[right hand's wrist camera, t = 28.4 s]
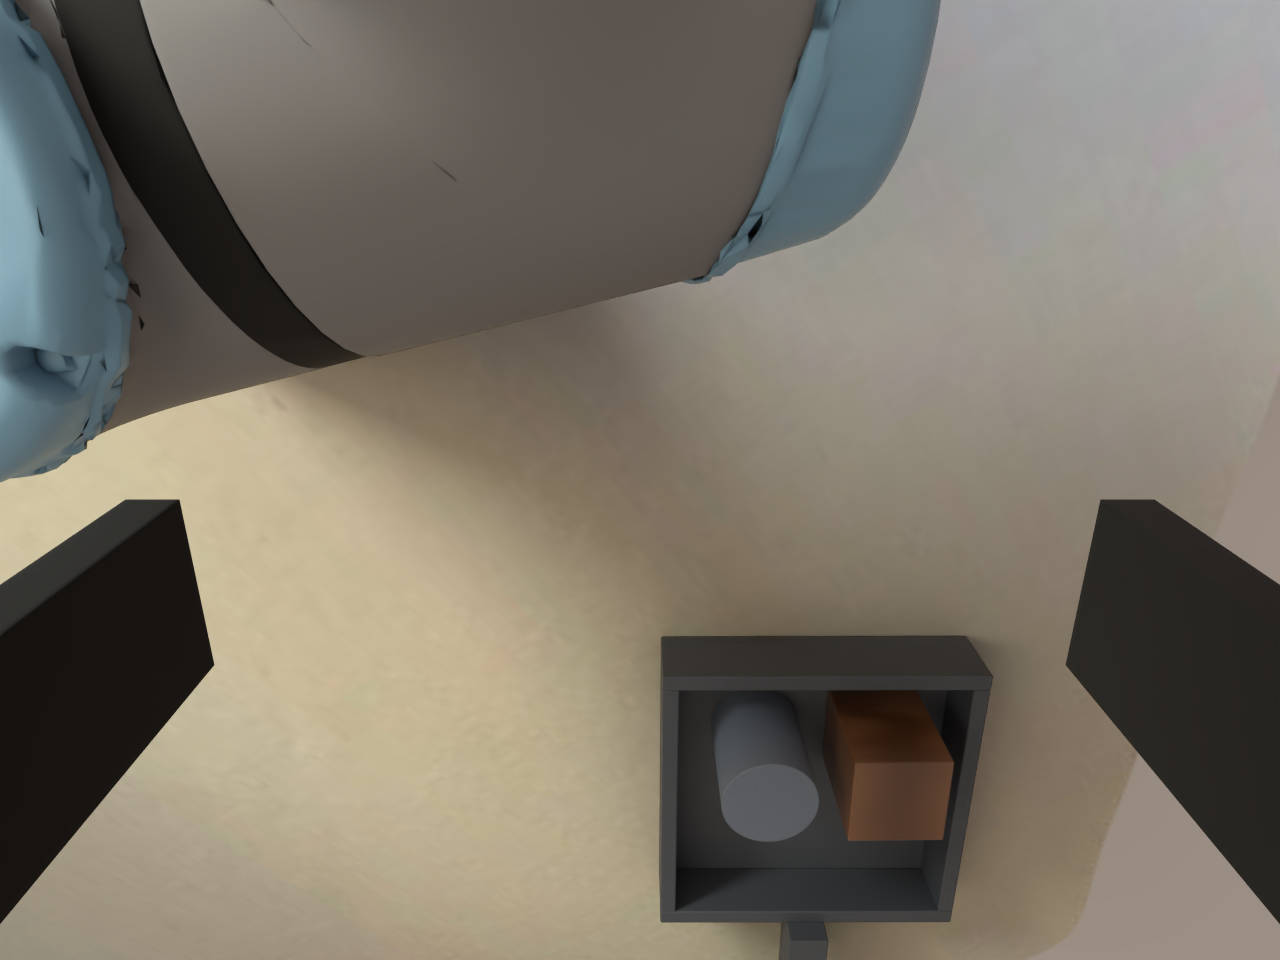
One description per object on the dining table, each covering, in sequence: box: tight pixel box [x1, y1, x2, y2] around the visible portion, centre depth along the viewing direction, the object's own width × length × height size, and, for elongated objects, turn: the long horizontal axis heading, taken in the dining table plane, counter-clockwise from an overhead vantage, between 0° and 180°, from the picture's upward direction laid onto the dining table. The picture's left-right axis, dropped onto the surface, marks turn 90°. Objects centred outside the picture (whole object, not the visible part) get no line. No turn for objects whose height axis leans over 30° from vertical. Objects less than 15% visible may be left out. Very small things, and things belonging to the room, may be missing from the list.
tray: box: [659, 636, 993, 960], centre depth 46 cm, size 25×16×5 cm, turn 0°
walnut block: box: [823, 690, 954, 841], centre depth 42 cm, size 4×4×6 cm
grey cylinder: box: [711, 690, 819, 842], centre depth 42 cm, size 4×4×6 cm
